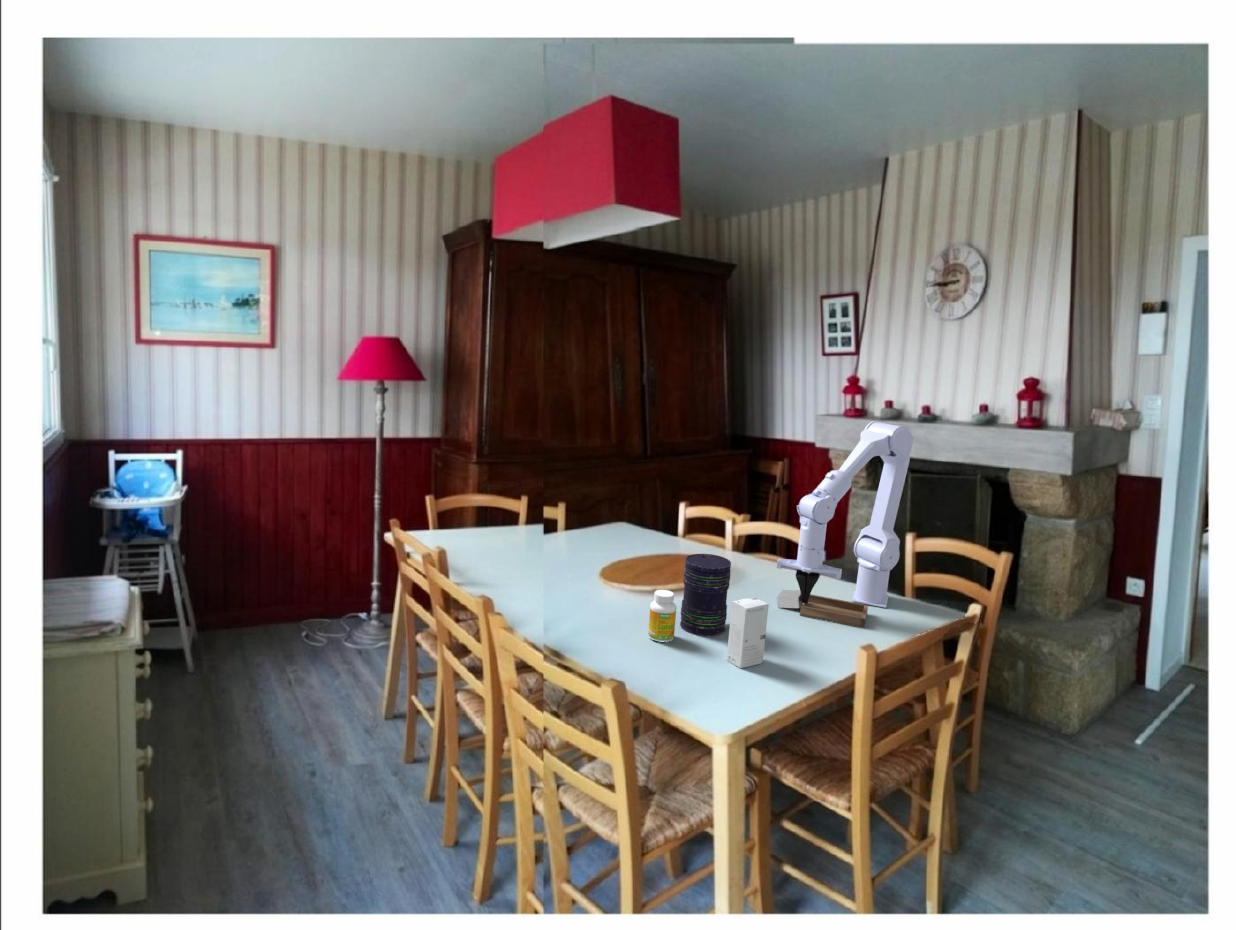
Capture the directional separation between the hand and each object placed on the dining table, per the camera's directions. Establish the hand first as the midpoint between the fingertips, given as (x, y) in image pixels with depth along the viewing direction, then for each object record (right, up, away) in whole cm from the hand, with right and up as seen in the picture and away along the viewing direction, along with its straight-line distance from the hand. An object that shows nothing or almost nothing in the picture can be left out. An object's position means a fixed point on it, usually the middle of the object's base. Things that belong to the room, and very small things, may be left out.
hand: (804, 602), depth 169 cm
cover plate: (-3, -1, +2) cm, 3 cm away
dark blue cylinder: (-26, -3, -14) cm, 29 cm away
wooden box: (+6, -3, -2) cm, 7 cm away
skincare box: (-19, -6, -29) cm, 36 cm away
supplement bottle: (-35, -4, -21) cm, 41 cm away
